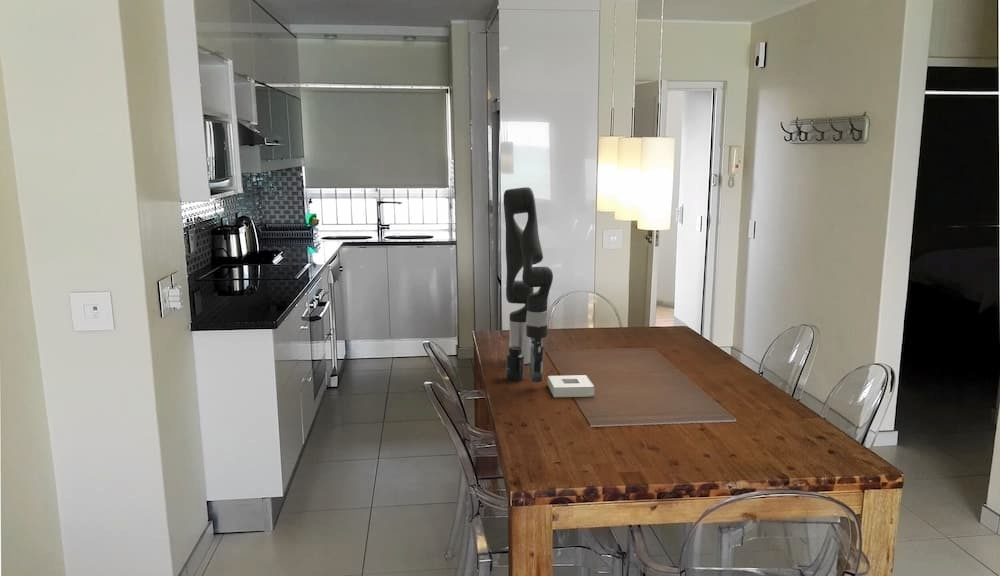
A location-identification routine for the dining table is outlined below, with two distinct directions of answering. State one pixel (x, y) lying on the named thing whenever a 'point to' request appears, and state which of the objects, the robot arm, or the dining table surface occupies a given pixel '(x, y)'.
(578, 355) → the dining table surface
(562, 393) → the socket block
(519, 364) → the supplement bottle
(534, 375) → the graphite peg
